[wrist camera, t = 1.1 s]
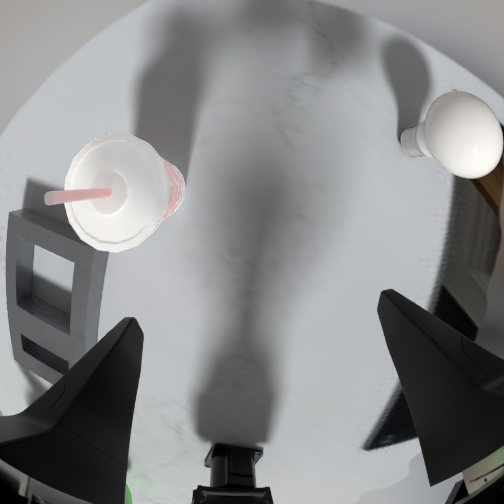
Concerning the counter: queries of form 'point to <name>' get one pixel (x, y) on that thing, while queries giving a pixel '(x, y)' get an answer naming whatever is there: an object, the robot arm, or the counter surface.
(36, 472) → the robot arm
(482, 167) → the lightbulb
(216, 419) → the counter surface
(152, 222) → the beverage cup
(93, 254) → the socket block
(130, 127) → the counter surface
